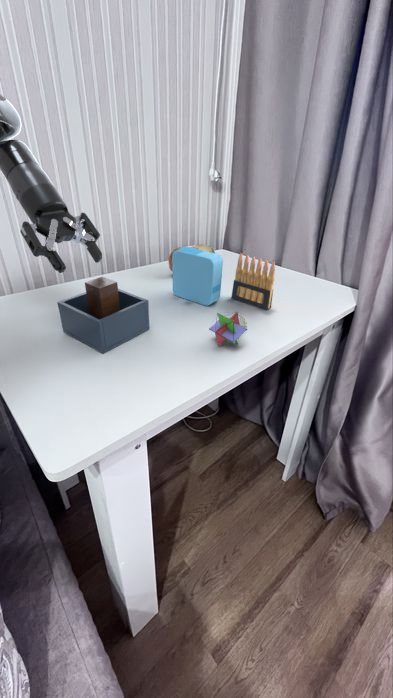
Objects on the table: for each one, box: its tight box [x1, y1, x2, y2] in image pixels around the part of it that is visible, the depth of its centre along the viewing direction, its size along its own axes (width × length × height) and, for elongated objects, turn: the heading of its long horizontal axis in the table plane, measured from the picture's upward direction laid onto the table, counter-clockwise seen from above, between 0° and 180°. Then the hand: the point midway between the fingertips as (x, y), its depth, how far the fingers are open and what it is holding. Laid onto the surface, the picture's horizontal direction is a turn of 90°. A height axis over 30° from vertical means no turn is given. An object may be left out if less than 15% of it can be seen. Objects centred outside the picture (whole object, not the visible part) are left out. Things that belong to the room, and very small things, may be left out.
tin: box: [168, 244, 216, 273], centre depth 99 cm, size 15×3×8 cm, turn 119°
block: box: [84, 276, 120, 320], centre depth 67 cm, size 4×4×10 cm
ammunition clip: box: [230, 252, 276, 311], centre depth 81 cm, size 11×2×12 cm, turn 52°
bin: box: [56, 288, 150, 354], centre depth 68 cm, size 13×13×7 cm
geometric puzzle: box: [208, 310, 249, 348], centre depth 66 cm, size 7×7×8 cm
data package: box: [172, 246, 224, 307], centre depth 83 cm, size 12×4×12 cm, turn 55°
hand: (82, 265), depth 66 cm, fingers open, 8 cm apart
